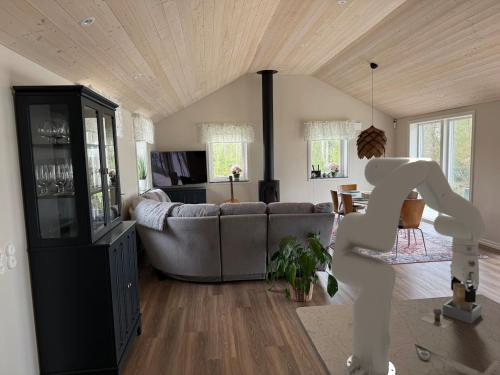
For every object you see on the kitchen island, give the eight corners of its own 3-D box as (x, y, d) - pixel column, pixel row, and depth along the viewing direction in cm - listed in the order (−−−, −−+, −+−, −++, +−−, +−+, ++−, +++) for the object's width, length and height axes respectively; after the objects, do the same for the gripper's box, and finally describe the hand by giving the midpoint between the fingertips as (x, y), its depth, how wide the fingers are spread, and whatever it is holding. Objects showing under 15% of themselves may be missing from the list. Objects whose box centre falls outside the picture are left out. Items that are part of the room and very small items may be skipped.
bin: (471, 327, 117) (471, 313, 117) (442, 318, 124) (442, 304, 123) (480, 319, 123) (481, 305, 122) (452, 310, 130) (453, 297, 129)
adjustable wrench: (431, 362, 100) (431, 356, 100) (406, 359, 102) (406, 353, 102) (417, 320, 124) (417, 315, 124) (397, 318, 126) (397, 313, 125)
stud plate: (444, 332, 115) (445, 316, 114) (419, 323, 121) (420, 307, 120) (454, 324, 120) (455, 308, 119) (430, 316, 126) (430, 301, 125)
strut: (471, 319, 121) (473, 288, 120) (457, 318, 121) (459, 288, 120) (465, 313, 125) (466, 283, 124) (452, 313, 126) (453, 283, 124)
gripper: (491, 255, 112) (488, 307, 114) (463, 241, 129) (461, 286, 131) (466, 255, 112) (463, 307, 114) (442, 241, 129) (440, 286, 131)
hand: (462, 295), depth 122 cm, fingers open, 9 cm apart
